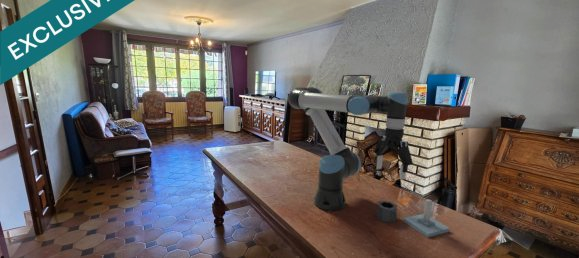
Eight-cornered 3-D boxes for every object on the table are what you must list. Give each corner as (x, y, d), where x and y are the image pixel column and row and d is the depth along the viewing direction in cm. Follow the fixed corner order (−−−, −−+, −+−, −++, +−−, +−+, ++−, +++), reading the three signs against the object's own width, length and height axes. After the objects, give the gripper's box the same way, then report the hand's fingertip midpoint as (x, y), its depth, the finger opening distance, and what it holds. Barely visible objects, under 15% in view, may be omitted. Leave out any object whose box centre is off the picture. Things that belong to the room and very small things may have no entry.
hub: (385, 224, 105) (386, 210, 104) (372, 214, 112) (373, 202, 111) (399, 220, 108) (401, 207, 106) (386, 211, 115) (387, 199, 114)
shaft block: (427, 237, 96) (431, 210, 94) (403, 221, 107) (406, 196, 105) (449, 231, 100) (453, 205, 98) (424, 216, 111) (427, 192, 109)
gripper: (426, 132, 99) (419, 182, 103) (380, 122, 122) (376, 164, 126) (413, 133, 96) (406, 185, 100) (368, 123, 119) (364, 165, 123)
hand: (389, 173), depth 113 cm, fingers open, 13 cm apart
